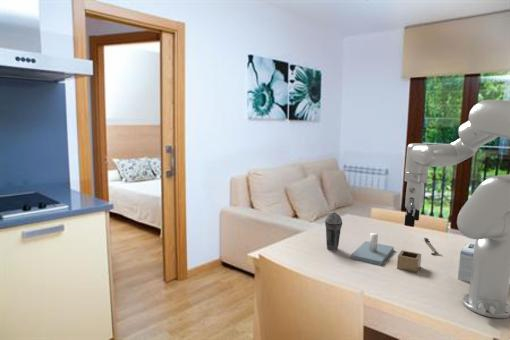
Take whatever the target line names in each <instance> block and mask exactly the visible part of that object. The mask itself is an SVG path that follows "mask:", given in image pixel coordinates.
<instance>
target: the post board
mask: <svg viewBox="0 0 510 340" xmlns="http://www.w3.org/2000/svg"><path fill="white" fill-rule="evenodd" d="M378 239H379V234H378V233H376V232H370V234H369V241H366V240H365V241H364V242H363V243H362V244H361V245H360V246H359V247H357V248H356V249H355V251H353V252H352V253H351V254H350V259H352V260H355V261H361V262H365V263H369V264H373V265H378V266H383V264H384V263H385V262H386V261H387V259H388V258H389V257H390V255H391V254H392V252H393V251H394V246H391V245H386V244H383V243H382V244H381V243H378V241H379V240H378Z"/></svg>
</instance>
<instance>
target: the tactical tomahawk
mask: <svg viewBox="0 0 510 340" xmlns="http://www.w3.org/2000/svg"><path fill="white" fill-rule="evenodd" d="M423 239H424V242H425V244H426V245H427V246H428V247H429V248H430V250H431V251H432V252H431V256H436V257H437V256H438V257H443V255H442V254H441V253H439V252H437V250H436V249H435V248H434V246H433V244H431V242H430V241H429V238H427V237H423Z"/></svg>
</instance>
